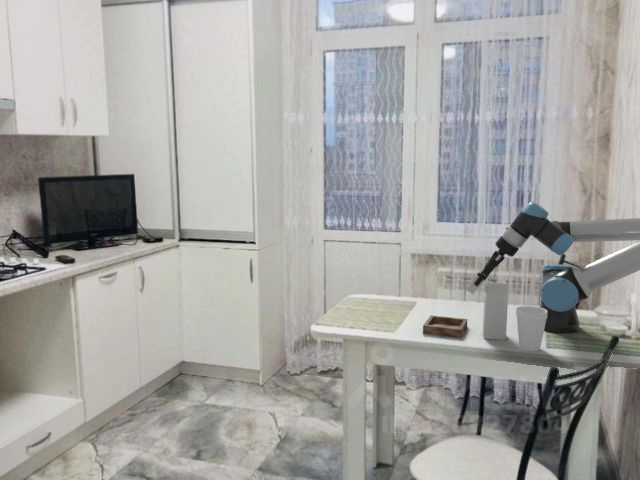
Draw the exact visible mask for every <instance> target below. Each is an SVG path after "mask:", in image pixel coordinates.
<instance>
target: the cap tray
mask: <svg viewBox="0 0 640 480" xmlns="http://www.w3.org/2000/svg"><path fill="white" fill-rule="evenodd" d="M467 328H468V318H461V317H460V318H459V317H451V316H441V315H432V314H431V315H429V316H428V319H427V320H426V321H425V322H424V324H423V325H422V334H423V335H431V336H432V335H433V336H441V337H448V338H458V339H462V338H463V337H464V336H463V335H464V334H465V333H466V330H467Z"/></svg>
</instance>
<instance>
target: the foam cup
mask: <svg viewBox="0 0 640 480" xmlns="http://www.w3.org/2000/svg"><path fill="white" fill-rule="evenodd" d="M547 312H548V311H547V310H546V309H544V308H540V306H533V305H532V306H531V305H523V306H517V307H516V311H515V313H516V314H515V316H516V322H517V334H518V344H519V348H520V350H521V351H524V352H525V351H526V352H531V353H535V352H539V351H540V350H541V348H542V347H541V346H542V342H543V337H544V332H545V330H544V328H545V323H546V319H547Z"/></svg>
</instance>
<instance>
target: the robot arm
mask: <svg viewBox="0 0 640 480" xmlns="http://www.w3.org/2000/svg"><path fill="white" fill-rule="evenodd" d="M548 216H549V212H548V211H547V210H546V209H545V208H544V207H543V206H541V205H539V203H536V202H534V201H530V202H529V203H527V205H526V206H525V207H523V208H522V210H521V211H520V213H519V214H518V215H517V216H516V218H515V219H513V221H512V222H511V224H510V225H509V227H508V226H505V231H504V232H503V234H502V236H500V237H499V238H498V239H497V240H496V242H495V246H496V247H497V249H498V250H495V251H494V252H493V253H492V255H491V257H490V258H489V260H488V262H487V263H485V265H484V267H483V268H482V269H480V270H479V272H477V274H476V276H475V277H474V278H473V279H472V281H471V283H470V285H468V287H467V288H466V291H468V292H469V293H471V294H472V295H474V294H475V292H476V291H477V290H478V289H479V287H480V286H482V284H483V283H484V282H485V281H486V280H487V278H488V277H489V276H490V274H492V272H493V271H494V270H495V268H498V266H499V265H500V264H501V263H502V262H503V261H504V260H505V258H506V257H505V255H506V256H508V257H514V256H515V255H516V254H517V253H518V252H519V249H520V248H522V247H523V246H524V245H525V243H526V242H527V241H528V240H529V238H530V237H533V238H534V239H536V240H537V241H538V242H540V243H541V244H542V245H544V246H545V247H546V248H547V249H549V250H550V251H551V252H552V253H555V254H556V255H557V256H563V255H565V253H566V252H567V251H568V250H569V249H571V246H572V245H573V244H574V243H592V242H594V243H595V242H601V243H602V242H623V241H624V242H629V241H633V243H631V244H629V245H626V246H624V247H622V248H620V249H618V250H615V251H614V252H610V253H609V254H607V255H604V256H602V257H601V258H598V259H596V260H594V261H591V262H589V263H587V264H585V265H583V266H580V267H577V266H575V265H569V264H558V263H557V264H556V263H553V264H552V263H545V264H544V265H543V267H542V270H541V271H542V277H541V278H542V280H541V286H540V289H539V295H540V306H539V307H540V308H544V309H546V310H547V311H548V312H547V319H546V323H545V328H544V331H546V332H547V331H548V332H553V333H563V334H564V333H565V334H567V333H575V332H577V331H579V329H580V321H579V316H578V314H577V313H578V312H577V310H576V306H577V304H578V303H580V302H583V301H585V300H587V299H589V298H590V297H591V295H592V292H593V291H595V290H598V289H600V288H603V287H605V286H607V285H610V284H612V283H614V282H616V281H619V280H621V279H623V278H625V277H628V276H629V275H633V274H634V273H636V272H639V271H640V217H635V218H634V217H633V218H617V219H596V220H593V219H592V220H576V221H575V220H573V221H558V220H553V221H550V220H549V219H548ZM634 241H635V242H634Z"/></svg>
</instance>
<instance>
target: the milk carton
mask: <svg viewBox="0 0 640 480" xmlns="http://www.w3.org/2000/svg"><path fill="white" fill-rule="evenodd" d="M508 291H509V290H508V283H503V282H502V283H500V282H499V283H498V282H496V283H495V282H486V283H485V287H484V299H483V321H482V334H483V338H484V340H499V341H506V340H507V329H508V328H507V325H508V305H509V292H508Z"/></svg>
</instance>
